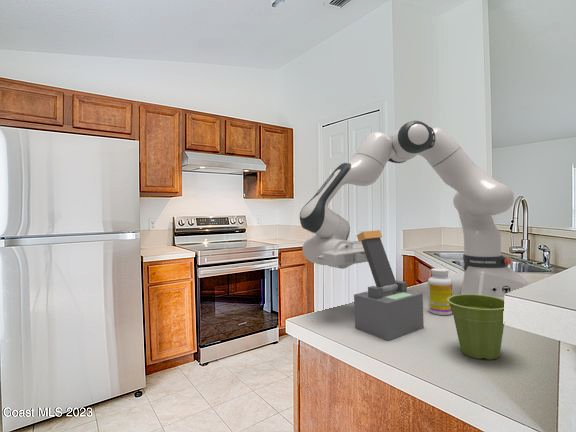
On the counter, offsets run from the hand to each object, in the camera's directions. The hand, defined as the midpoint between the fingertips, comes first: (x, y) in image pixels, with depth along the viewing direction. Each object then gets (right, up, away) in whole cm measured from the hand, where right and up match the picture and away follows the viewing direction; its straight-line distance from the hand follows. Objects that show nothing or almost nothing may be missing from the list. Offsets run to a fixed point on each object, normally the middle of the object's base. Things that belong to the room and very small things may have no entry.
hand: (374, 258), depth 90 cm
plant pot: (+17, -18, -20) cm, 32 cm away
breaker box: (+3, -18, -3) cm, 19 cm away
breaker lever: (+3, -7, -4) cm, 9 cm away
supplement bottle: (+22, -17, +8) cm, 29 cm away
